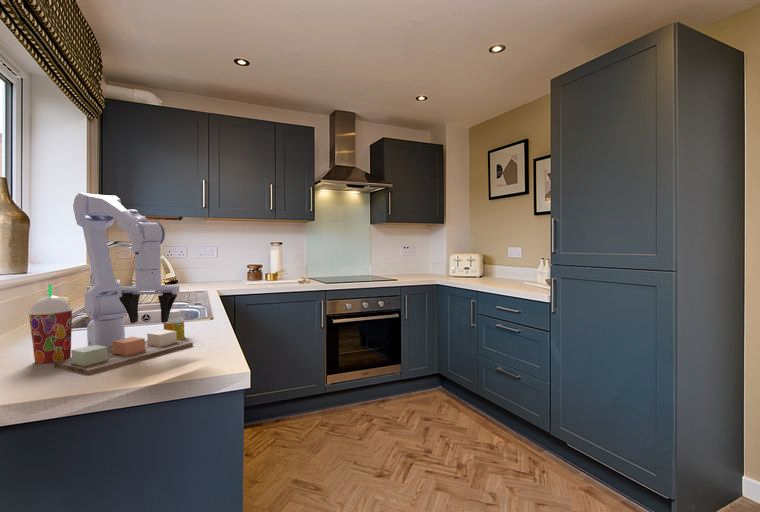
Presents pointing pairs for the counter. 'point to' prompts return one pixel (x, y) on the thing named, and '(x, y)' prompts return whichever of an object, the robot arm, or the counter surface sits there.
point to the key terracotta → (128, 345)
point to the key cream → (162, 338)
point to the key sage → (89, 355)
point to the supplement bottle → (175, 323)
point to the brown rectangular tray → (122, 358)
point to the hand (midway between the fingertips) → (149, 322)
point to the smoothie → (51, 329)
